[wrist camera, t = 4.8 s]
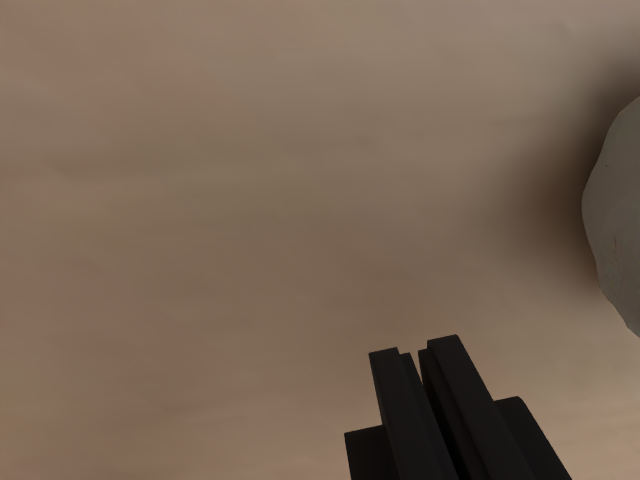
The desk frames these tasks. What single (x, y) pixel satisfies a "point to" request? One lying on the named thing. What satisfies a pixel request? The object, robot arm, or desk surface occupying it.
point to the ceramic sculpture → (617, 215)
